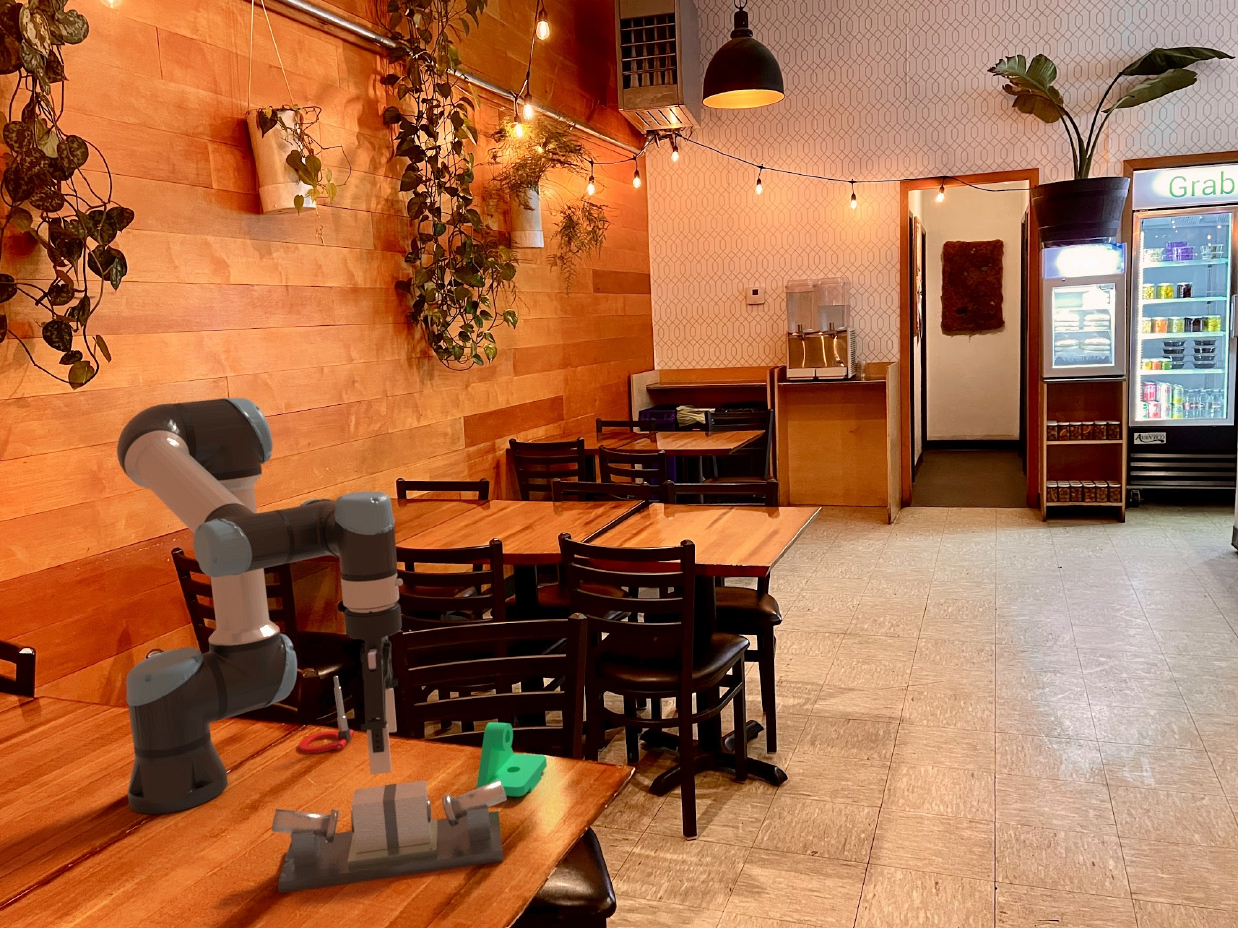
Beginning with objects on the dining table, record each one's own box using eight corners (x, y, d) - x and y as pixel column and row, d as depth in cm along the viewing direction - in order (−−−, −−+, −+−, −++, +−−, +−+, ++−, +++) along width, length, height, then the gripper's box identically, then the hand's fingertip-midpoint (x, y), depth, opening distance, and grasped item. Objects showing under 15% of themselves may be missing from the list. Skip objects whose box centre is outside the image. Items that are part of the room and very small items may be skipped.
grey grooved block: (353, 853, 137) (348, 805, 136) (356, 835, 142) (352, 789, 141) (432, 842, 139) (428, 794, 138) (433, 825, 144) (428, 779, 143)
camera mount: (523, 803, 154) (518, 740, 153) (478, 799, 157) (473, 737, 155) (548, 770, 166) (544, 711, 165) (506, 767, 168) (502, 709, 167)
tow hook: (292, 757, 178) (342, 752, 178) (281, 688, 177) (332, 683, 176) (309, 738, 187) (356, 734, 186) (299, 672, 185) (347, 668, 185)
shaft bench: (269, 894, 132) (262, 831, 131) (283, 849, 144) (277, 791, 143) (512, 859, 137) (507, 798, 136) (507, 819, 149) (502, 762, 148)
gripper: (395, 629, 124) (408, 787, 128) (403, 579, 149) (414, 714, 152) (333, 634, 123) (348, 794, 126) (352, 584, 148) (364, 719, 151)
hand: (384, 751), depth 139 cm, fingers open, 13 cm apart
